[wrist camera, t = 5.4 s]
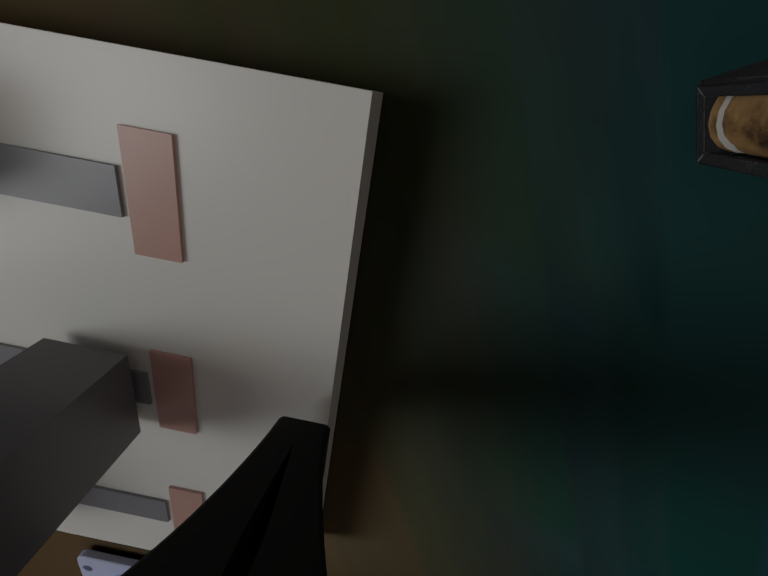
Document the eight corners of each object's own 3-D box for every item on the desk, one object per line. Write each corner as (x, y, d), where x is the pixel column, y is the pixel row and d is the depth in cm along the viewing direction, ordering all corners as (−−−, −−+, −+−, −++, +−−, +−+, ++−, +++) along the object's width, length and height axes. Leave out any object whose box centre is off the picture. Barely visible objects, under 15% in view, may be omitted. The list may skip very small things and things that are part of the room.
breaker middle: (140, 432, 12) (0, 594, 8) (66, 416, 12) (-109, 570, 8) (127, 354, 11) (-50, 504, 7) (43, 338, 11) (-180, 477, 7)
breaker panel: (319, 533, 17) (306, 586, 16) (-145, 436, 18) (-212, 476, 16) (383, 92, 9) (371, 90, 7) (-472, -65, 10) (-686, -104, 8)
